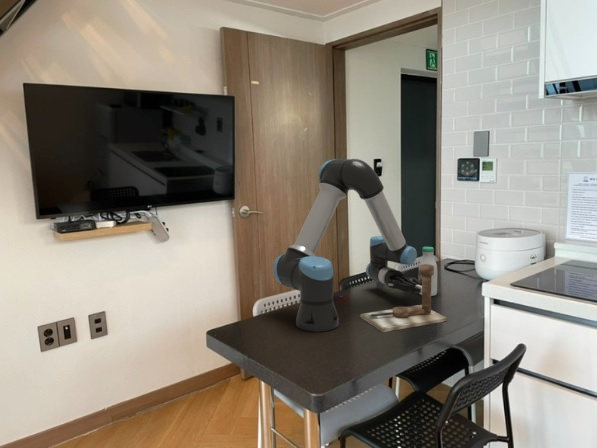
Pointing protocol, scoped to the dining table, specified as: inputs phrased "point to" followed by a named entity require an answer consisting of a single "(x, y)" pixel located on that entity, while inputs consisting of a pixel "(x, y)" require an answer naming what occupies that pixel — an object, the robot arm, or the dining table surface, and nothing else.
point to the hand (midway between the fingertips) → (427, 292)
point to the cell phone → (339, 298)
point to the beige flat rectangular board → (402, 319)
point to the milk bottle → (430, 260)
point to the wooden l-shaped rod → (426, 274)
